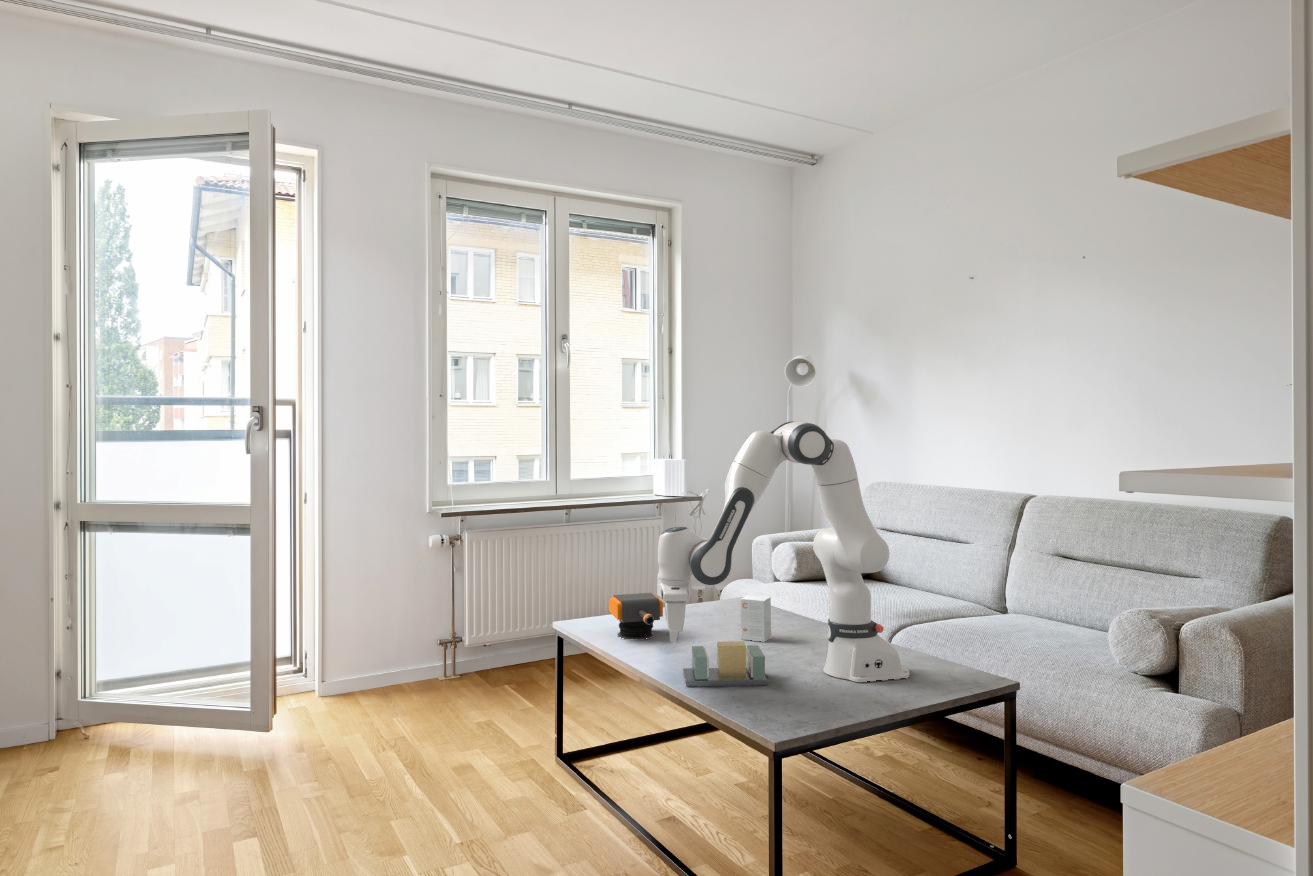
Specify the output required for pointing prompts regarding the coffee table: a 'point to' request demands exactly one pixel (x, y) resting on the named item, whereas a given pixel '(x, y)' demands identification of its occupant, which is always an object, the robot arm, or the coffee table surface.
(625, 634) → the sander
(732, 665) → the brass block
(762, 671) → the vise
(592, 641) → the coffee table surface
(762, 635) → the small box
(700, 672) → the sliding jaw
